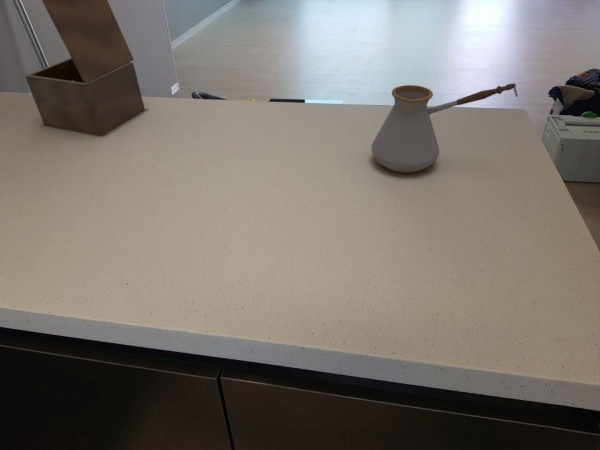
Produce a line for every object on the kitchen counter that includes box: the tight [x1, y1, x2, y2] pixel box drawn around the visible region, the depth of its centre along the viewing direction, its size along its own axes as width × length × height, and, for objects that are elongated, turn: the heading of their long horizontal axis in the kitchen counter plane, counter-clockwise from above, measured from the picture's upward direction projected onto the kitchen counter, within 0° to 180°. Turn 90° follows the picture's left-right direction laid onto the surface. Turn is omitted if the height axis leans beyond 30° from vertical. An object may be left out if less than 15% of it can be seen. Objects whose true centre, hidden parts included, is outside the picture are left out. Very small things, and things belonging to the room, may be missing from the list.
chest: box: [24, 57, 146, 137], centre depth 95 cm, size 16×14×11 cm
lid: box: [41, 0, 135, 83], centre depth 84 cm, size 16×14×5 cm
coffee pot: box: [371, 82, 518, 174], centre depth 75 cm, size 21×12×15 cm, turn 78°
